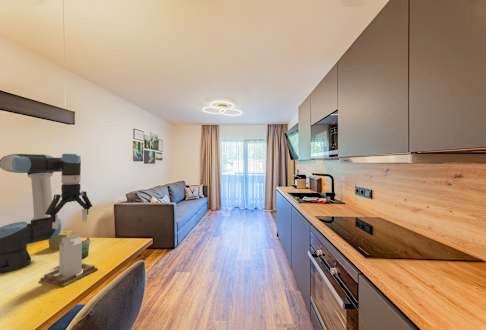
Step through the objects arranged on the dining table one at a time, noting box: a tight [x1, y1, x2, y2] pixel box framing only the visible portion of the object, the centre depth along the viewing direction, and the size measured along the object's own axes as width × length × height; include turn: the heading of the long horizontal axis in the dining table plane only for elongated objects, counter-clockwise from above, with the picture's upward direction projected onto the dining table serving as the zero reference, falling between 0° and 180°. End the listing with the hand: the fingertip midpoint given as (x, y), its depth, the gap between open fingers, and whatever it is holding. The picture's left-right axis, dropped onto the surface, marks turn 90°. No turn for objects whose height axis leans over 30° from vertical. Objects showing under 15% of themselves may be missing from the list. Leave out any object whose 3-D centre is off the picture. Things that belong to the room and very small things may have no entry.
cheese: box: [48, 229, 76, 250], centre depth 142 cm, size 10×11×10 cm
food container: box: [81, 237, 92, 260], centre depth 125 cm, size 12×6×10 cm, turn 168°
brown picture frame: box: [40, 262, 99, 288], centre depth 105 cm, size 17×16×2 cm
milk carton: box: [58, 233, 83, 278], centre depth 105 cm, size 7×7×19 cm
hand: (70, 224), depth 105 cm, fingers open, 13 cm apart
